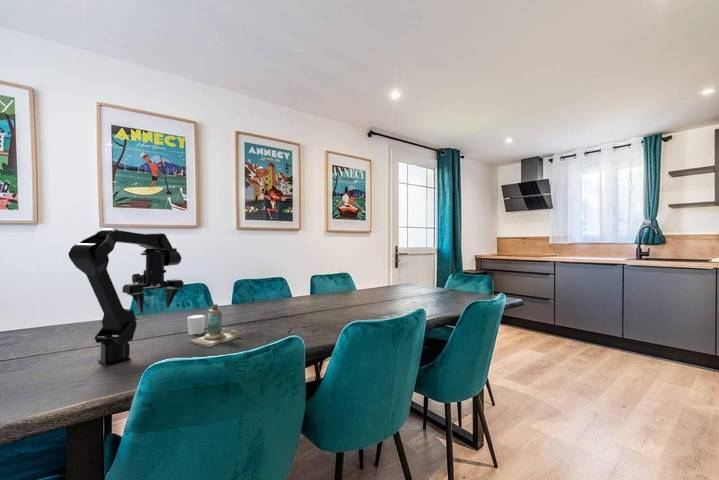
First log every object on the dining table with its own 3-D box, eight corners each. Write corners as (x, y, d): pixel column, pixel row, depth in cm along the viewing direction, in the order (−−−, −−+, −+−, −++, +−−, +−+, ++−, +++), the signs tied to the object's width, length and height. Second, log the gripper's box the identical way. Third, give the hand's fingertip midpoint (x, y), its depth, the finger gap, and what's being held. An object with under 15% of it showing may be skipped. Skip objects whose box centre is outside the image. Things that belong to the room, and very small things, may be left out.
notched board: (206, 347, 114) (206, 340, 114) (189, 342, 119) (189, 336, 119) (238, 337, 126) (238, 331, 126) (222, 333, 131) (222, 327, 131)
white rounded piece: (200, 335, 128) (200, 318, 128) (183, 335, 129) (183, 318, 129) (208, 330, 135) (208, 314, 135) (192, 330, 135) (192, 314, 135)
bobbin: (216, 340, 119) (217, 306, 119) (201, 339, 120) (201, 306, 120) (227, 335, 125) (227, 303, 125) (212, 334, 126) (213, 302, 127)
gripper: (168, 264, 129) (168, 303, 129) (115, 267, 113) (114, 311, 113) (184, 266, 123) (184, 306, 123) (130, 269, 107) (130, 315, 107)
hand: (154, 309), depth 117 cm, fingers open, 9 cm apart
